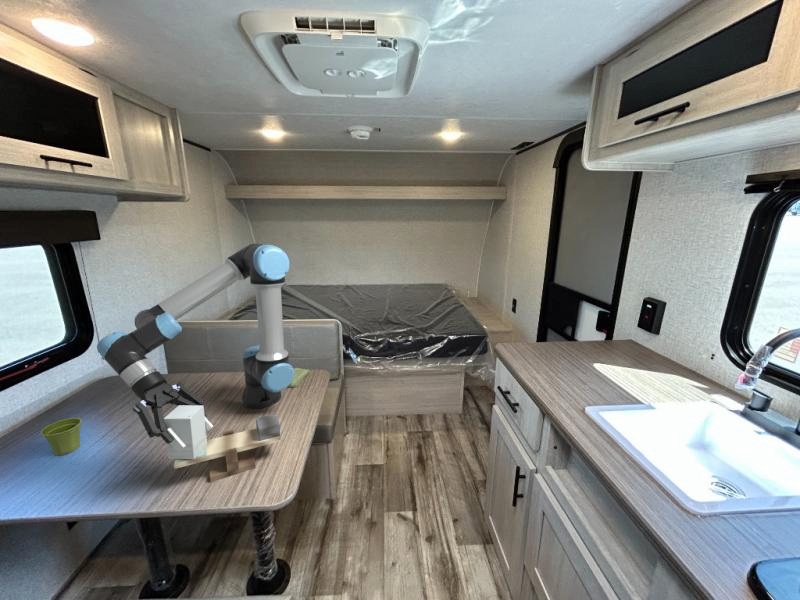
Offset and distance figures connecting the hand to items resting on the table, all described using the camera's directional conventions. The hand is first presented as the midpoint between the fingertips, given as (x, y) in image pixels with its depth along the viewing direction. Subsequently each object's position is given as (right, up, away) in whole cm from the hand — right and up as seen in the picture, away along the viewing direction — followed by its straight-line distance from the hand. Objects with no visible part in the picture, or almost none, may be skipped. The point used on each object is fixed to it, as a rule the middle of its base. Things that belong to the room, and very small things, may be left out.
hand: (196, 438), depth 96 cm
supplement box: (-3, -5, +2) cm, 6 cm away
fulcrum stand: (+6, -11, +9) cm, 15 cm away
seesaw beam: (+6, -5, +7) cm, 11 cm away
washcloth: (+6, +1, +65) cm, 66 cm away
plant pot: (-51, -10, +15) cm, 54 cm away
